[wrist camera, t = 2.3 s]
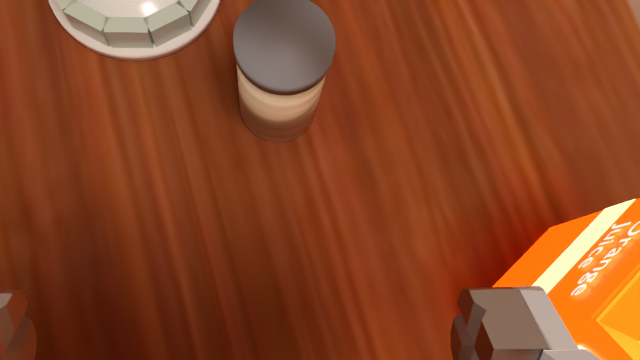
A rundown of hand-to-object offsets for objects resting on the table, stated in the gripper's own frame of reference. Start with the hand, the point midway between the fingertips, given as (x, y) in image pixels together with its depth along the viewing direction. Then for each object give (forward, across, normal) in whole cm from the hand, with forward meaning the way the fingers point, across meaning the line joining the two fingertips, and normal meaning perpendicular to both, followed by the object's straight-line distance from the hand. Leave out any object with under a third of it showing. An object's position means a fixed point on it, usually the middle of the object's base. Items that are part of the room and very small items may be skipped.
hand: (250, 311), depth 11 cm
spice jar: (+26, -1, +8) cm, 27 cm away
